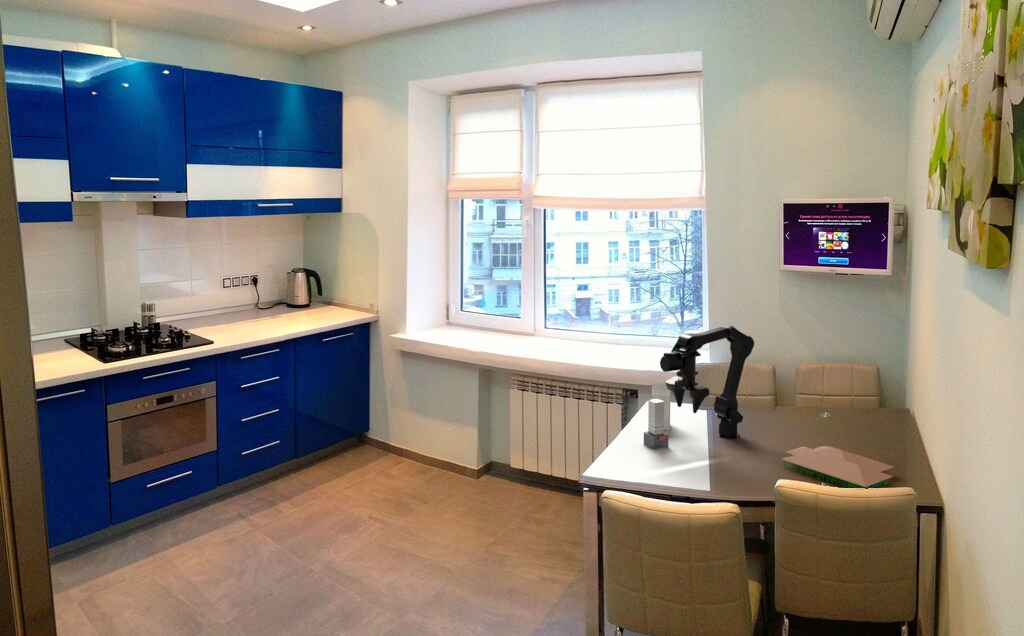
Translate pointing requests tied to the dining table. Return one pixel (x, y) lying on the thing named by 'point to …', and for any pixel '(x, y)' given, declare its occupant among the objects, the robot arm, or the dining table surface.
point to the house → (839, 465)
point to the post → (656, 417)
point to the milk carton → (663, 394)
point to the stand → (656, 440)
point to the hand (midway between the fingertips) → (687, 409)
